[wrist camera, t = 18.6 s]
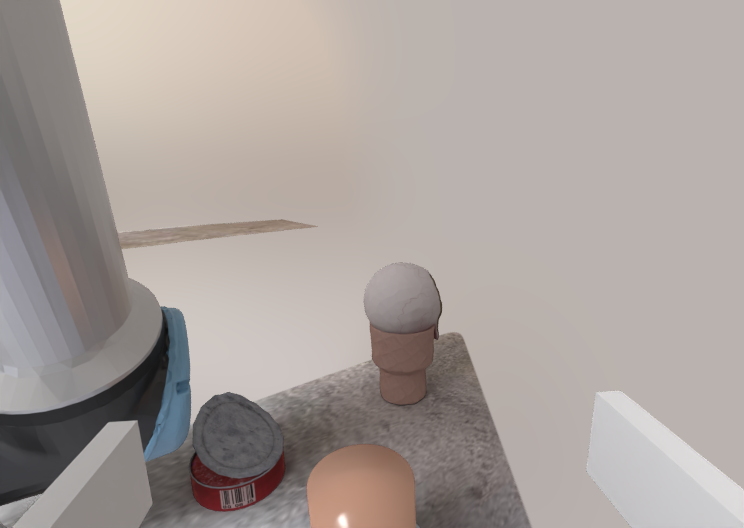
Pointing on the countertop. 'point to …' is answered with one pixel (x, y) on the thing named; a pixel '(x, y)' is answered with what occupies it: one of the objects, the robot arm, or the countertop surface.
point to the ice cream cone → (402, 328)
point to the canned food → (235, 454)
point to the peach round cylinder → (362, 489)
